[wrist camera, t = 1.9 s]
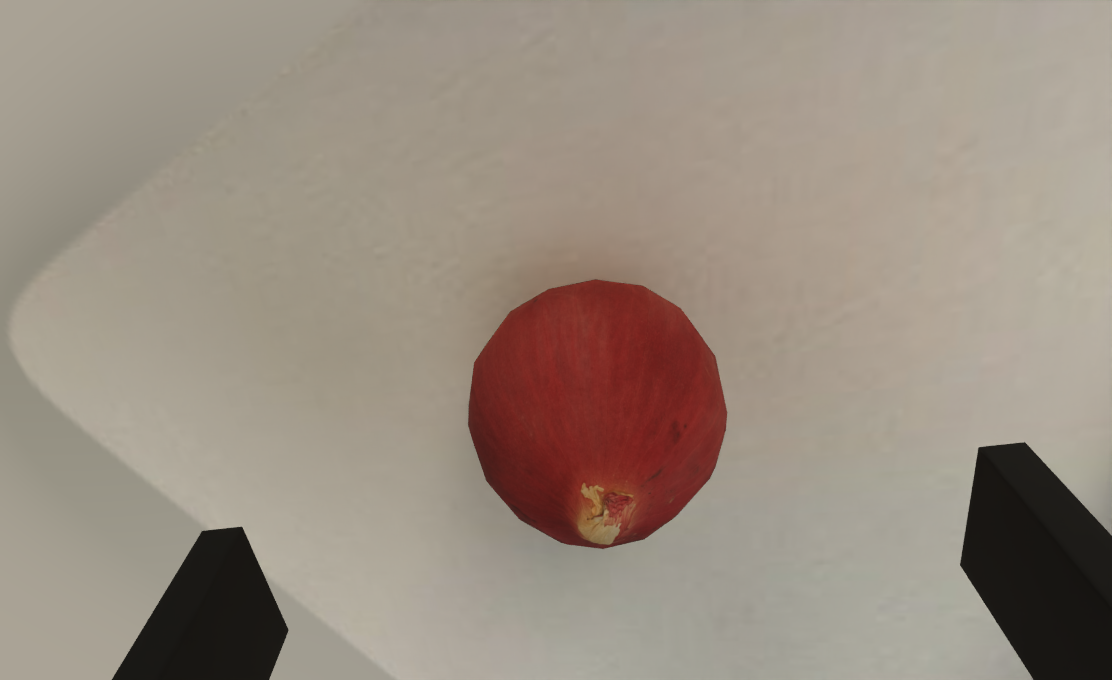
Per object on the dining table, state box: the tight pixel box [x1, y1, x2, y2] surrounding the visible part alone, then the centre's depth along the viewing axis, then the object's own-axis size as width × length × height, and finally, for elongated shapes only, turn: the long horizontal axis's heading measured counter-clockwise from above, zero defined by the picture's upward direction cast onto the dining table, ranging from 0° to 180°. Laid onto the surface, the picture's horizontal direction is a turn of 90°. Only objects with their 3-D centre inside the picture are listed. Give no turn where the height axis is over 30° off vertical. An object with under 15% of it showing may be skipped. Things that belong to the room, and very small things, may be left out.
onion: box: [468, 279, 727, 549], centre depth 17 cm, size 6×6×8 cm
